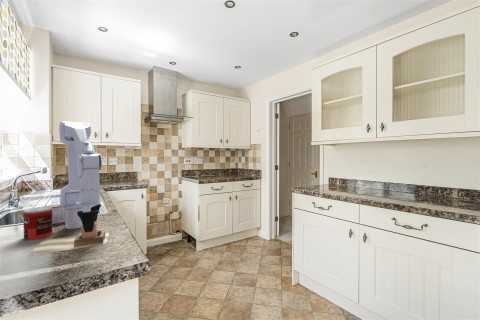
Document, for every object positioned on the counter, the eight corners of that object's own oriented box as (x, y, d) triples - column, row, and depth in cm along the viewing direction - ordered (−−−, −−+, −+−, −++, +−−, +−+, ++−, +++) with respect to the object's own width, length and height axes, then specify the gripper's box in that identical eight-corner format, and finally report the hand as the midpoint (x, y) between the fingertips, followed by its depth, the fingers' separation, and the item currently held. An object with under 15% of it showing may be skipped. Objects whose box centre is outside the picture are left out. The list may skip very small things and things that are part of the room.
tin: (74, 219, 108) (73, 202, 108) (76, 221, 106) (75, 203, 106) (31, 227, 97) (31, 208, 96) (33, 229, 95) (32, 209, 94)
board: (43, 243, 79) (43, 234, 79) (109, 234, 88) (109, 226, 88) (27, 259, 67) (26, 249, 67) (106, 247, 75) (105, 238, 75)
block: (84, 239, 79) (83, 222, 79) (97, 237, 81) (97, 221, 81) (81, 243, 76) (81, 225, 76) (95, 241, 78) (95, 224, 77)
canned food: (30, 236, 86) (29, 207, 85) (56, 234, 88) (55, 205, 88) (19, 244, 78) (18, 212, 78) (47, 241, 81) (46, 210, 81)
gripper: (80, 187, 83) (80, 224, 83) (70, 193, 70) (71, 237, 70) (102, 185, 86) (103, 221, 86) (97, 191, 73) (98, 233, 73)
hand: (90, 228), depth 79 cm, fingers open, 7 cm apart
